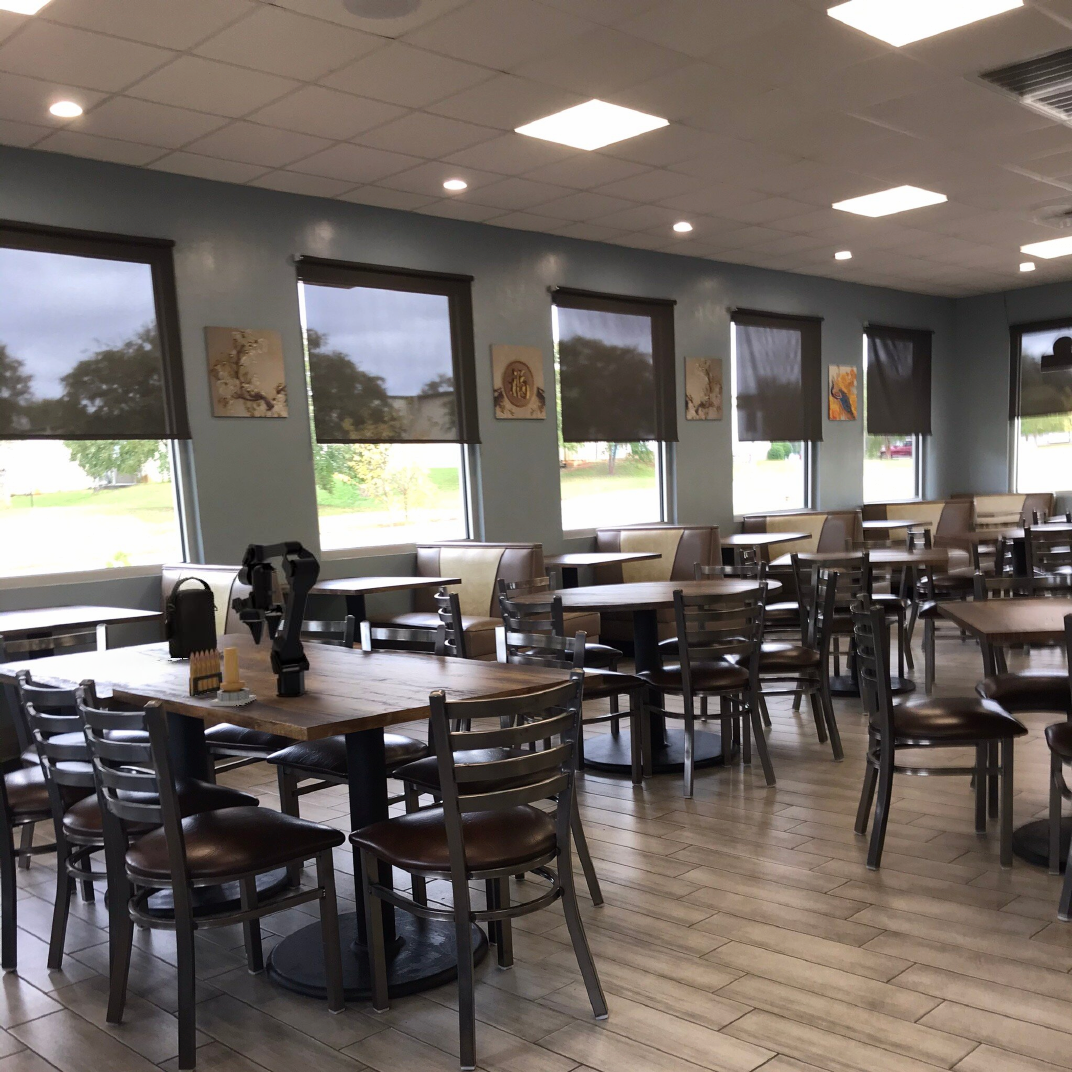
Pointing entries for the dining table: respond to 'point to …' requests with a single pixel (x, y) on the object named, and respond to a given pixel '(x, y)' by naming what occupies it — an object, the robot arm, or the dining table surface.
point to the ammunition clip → (204, 673)
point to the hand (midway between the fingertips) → (264, 642)
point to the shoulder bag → (190, 620)
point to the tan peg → (231, 671)
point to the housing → (232, 698)
